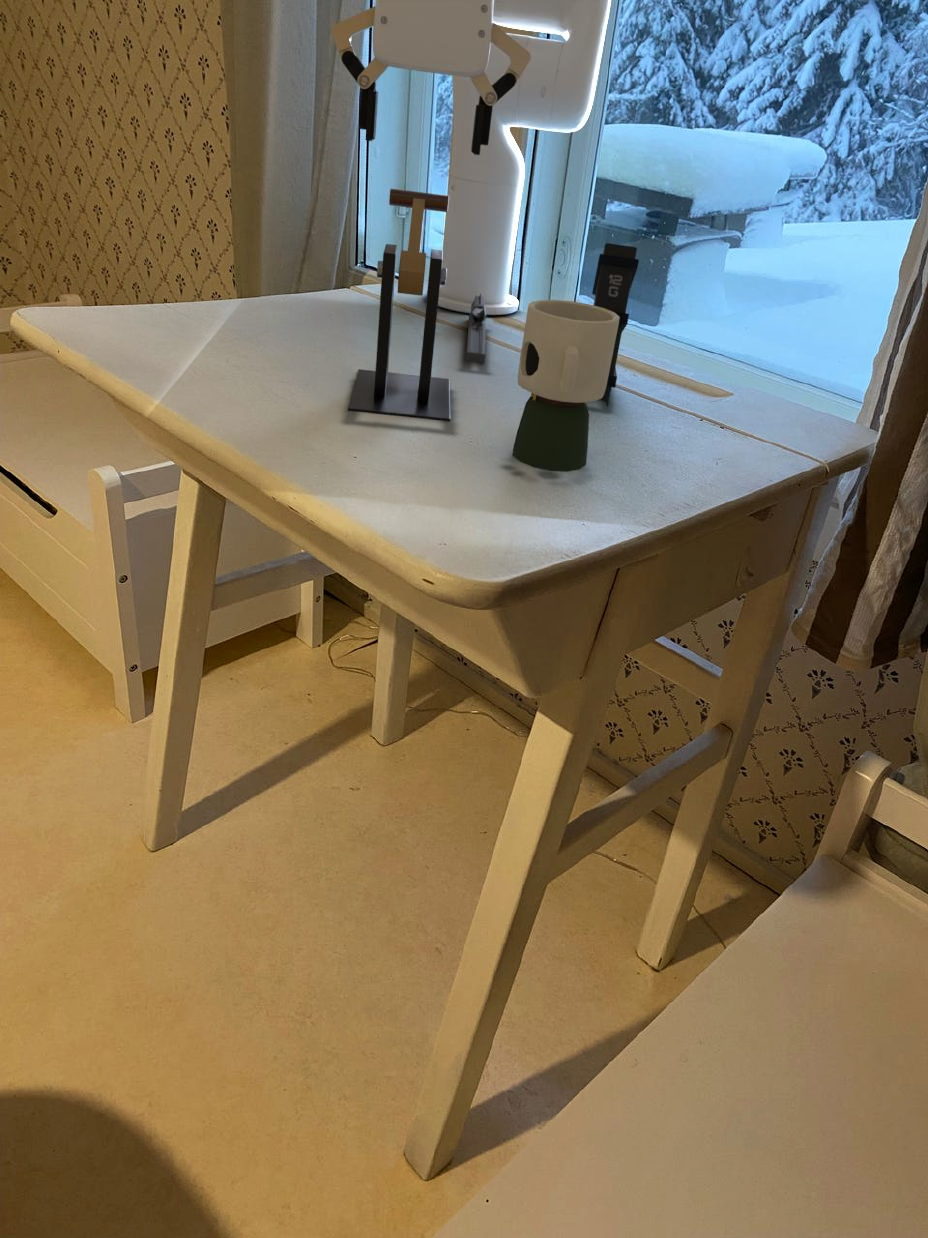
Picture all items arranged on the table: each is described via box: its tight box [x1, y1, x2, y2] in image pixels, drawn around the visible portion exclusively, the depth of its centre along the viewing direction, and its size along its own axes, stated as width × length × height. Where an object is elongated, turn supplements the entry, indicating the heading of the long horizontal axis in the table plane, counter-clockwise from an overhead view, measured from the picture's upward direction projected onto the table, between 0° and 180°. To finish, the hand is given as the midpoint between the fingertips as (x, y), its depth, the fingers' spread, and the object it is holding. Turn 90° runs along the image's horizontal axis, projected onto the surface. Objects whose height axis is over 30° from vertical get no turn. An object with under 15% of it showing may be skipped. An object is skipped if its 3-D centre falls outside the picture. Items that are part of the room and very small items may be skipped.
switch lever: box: [388, 188, 449, 297], centre depth 84 cm, size 13×6×2 cm, turn 1°
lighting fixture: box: [465, 294, 487, 364], centre depth 107 cm, size 19×3×4 cm, turn 179°
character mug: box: [512, 299, 620, 473], centre depth 75 cm, size 11×7×13 cm, turn 177°
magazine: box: [591, 242, 640, 408], centre depth 95 cm, size 4×13×15 cm, turn 172°
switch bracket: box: [347, 243, 451, 422], centre depth 84 cm, size 12×9×14 cm
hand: (423, 146), depth 85 cm, fingers open, 9 cm apart
